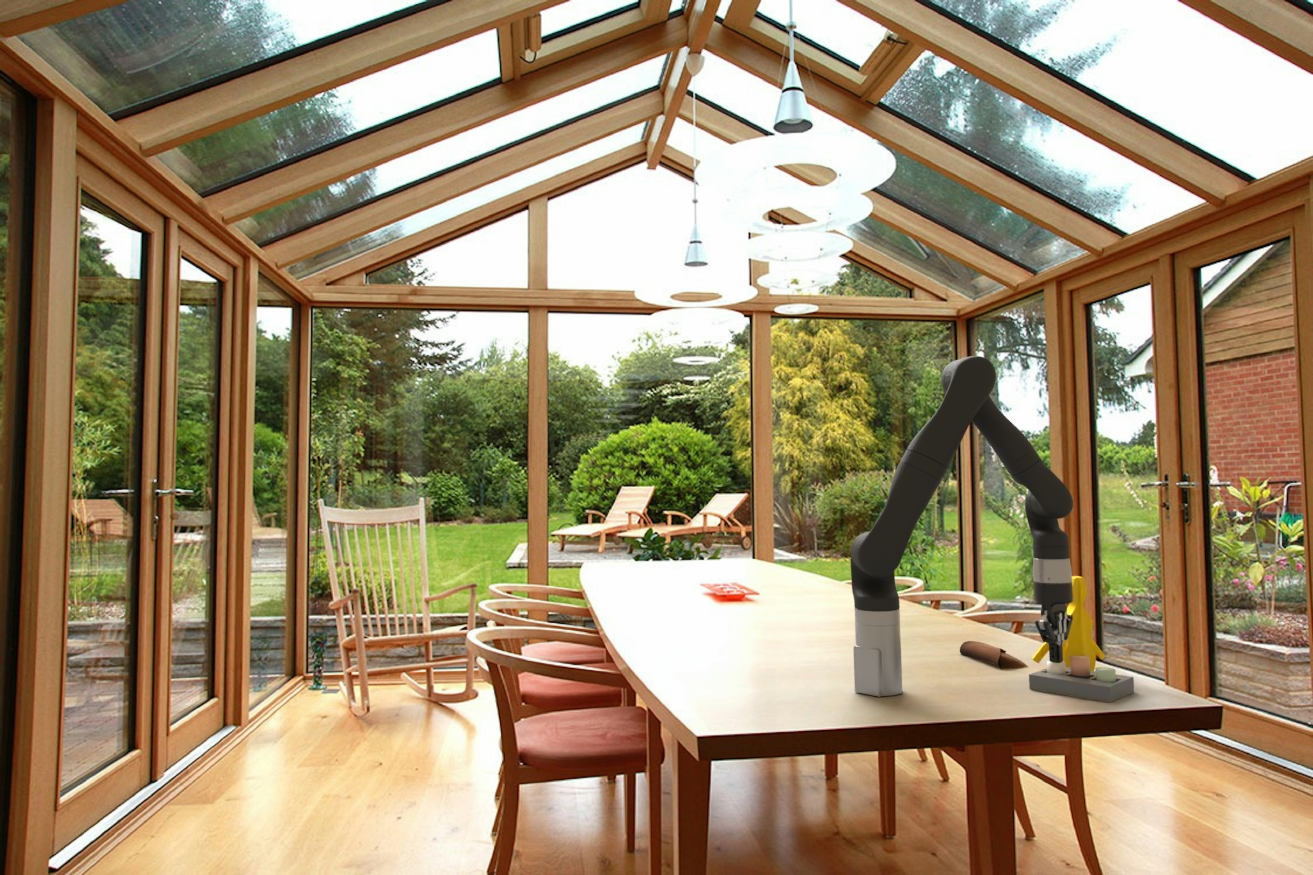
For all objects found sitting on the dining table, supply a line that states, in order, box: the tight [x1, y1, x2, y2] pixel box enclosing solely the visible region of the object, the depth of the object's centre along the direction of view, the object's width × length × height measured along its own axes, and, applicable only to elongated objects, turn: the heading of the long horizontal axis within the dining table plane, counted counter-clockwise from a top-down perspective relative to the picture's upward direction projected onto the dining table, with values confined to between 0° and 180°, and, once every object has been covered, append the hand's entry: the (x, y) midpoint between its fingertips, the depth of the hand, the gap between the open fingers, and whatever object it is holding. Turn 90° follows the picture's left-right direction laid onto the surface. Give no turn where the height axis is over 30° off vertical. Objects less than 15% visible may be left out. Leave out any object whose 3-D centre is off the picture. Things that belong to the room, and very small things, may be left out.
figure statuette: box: [1031, 575, 1106, 671], centre depth 193 cm, size 18×8×22 cm, turn 99°
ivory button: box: [1046, 659, 1066, 675], centre depth 182 cm, size 4×4×4 cm
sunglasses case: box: [959, 640, 1029, 670], centre depth 209 cm, size 18×7×7 cm
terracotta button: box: [1070, 655, 1090, 676], centre depth 178 cm, size 4×4×4 cm
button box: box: [1028, 667, 1135, 703], centre depth 178 cm, size 12×16×3 cm
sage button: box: [1094, 666, 1116, 683], centre depth 174 cm, size 4×4×4 cm
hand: (1056, 661), depth 182 cm, fingers closed
